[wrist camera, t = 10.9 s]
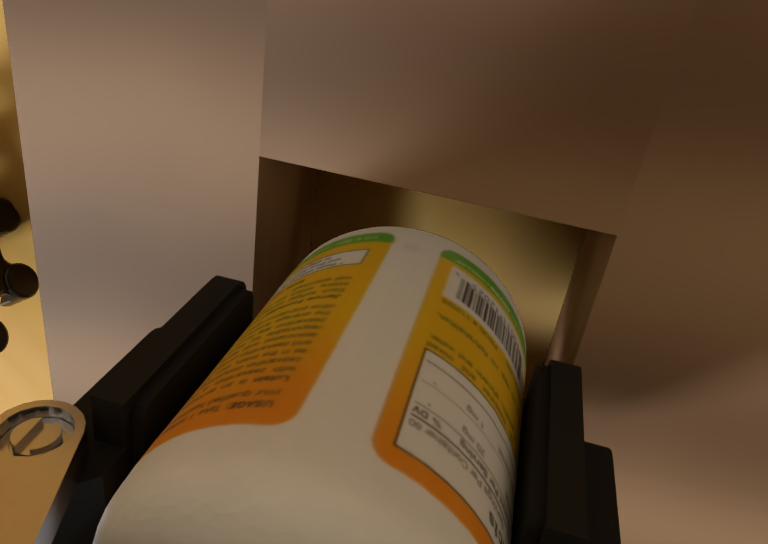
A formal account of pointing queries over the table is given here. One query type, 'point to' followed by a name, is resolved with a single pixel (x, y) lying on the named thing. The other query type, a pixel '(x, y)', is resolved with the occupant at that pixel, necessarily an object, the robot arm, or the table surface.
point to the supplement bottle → (348, 411)
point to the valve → (13, 270)
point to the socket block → (431, 190)
